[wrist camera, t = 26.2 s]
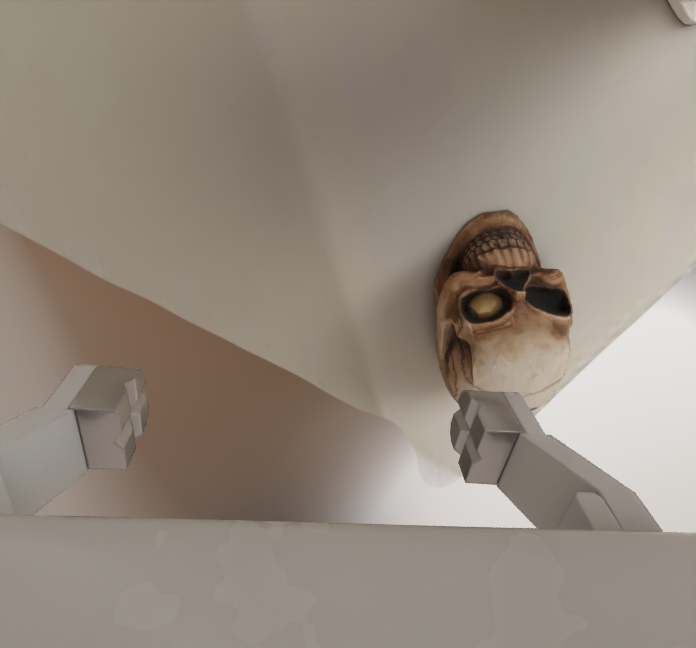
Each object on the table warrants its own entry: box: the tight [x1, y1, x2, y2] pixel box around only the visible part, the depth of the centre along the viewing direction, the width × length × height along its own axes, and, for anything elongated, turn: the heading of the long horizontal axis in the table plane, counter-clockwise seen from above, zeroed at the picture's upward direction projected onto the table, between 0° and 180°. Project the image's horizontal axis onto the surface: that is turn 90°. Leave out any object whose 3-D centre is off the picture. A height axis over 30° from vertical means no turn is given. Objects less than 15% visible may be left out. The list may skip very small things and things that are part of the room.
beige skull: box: [434, 210, 573, 412], centre depth 46 cm, size 16×17×13 cm
